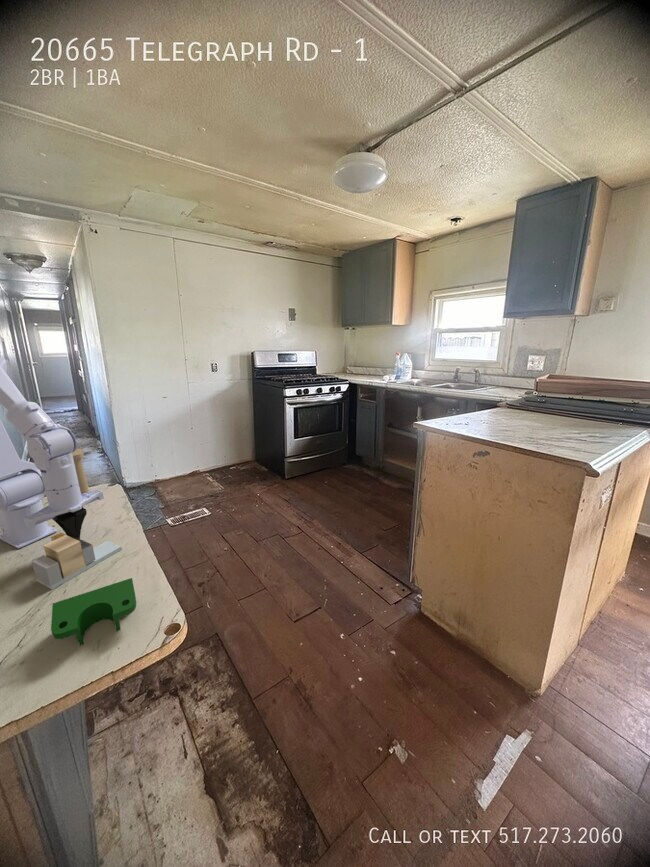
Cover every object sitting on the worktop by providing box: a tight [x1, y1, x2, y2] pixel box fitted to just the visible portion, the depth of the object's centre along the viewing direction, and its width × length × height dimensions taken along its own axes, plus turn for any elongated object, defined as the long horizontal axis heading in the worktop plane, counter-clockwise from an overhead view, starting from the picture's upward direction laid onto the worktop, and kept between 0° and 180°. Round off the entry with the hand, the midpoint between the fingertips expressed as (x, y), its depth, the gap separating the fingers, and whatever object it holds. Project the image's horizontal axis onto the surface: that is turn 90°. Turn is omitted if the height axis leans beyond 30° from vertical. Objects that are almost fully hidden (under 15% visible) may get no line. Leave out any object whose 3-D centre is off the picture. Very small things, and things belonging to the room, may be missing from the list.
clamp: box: [50, 577, 137, 646], centre depth 56 cm, size 12×6×9 cm, turn 116°
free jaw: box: [50, 532, 95, 565], centre depth 72 cm, size 12×2×4 cm, turn 64°
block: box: [43, 535, 86, 579], centre depth 68 cm, size 5×4×6 cm
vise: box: [31, 540, 123, 590], centre depth 71 cm, size 5×14×5 cm, turn 154°
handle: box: [72, 448, 90, 494], centre depth 96 cm, size 5×6×15 cm
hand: (74, 540), depth 76 cm, fingers closed
